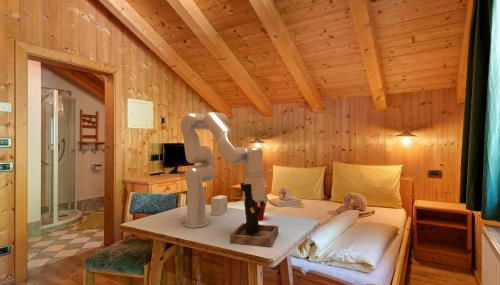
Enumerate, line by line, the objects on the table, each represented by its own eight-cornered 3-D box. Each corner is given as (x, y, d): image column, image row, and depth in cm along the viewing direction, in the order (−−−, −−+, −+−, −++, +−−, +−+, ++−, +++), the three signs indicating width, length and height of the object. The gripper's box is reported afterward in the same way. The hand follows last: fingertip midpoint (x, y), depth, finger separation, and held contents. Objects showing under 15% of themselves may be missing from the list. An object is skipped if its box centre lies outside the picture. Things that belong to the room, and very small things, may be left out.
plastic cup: (266, 222, 143) (266, 200, 143) (247, 221, 145) (247, 200, 145) (269, 217, 154) (268, 196, 154) (251, 216, 156) (251, 196, 156)
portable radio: (260, 233, 117) (255, 178, 116) (247, 235, 116) (241, 180, 115) (257, 228, 124) (252, 176, 124) (245, 230, 123) (239, 177, 123)
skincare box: (220, 216, 158) (220, 198, 158) (210, 215, 160) (210, 198, 160) (227, 211, 167) (227, 195, 168) (218, 211, 170) (218, 194, 170)
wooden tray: (230, 243, 113) (230, 235, 113) (242, 230, 130) (242, 223, 130) (271, 247, 108) (270, 238, 108) (278, 233, 125) (278, 225, 125)
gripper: (235, 175, 118) (235, 215, 118) (270, 176, 114) (270, 218, 113) (240, 173, 125) (240, 211, 125) (273, 174, 121) (273, 214, 121)
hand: (255, 214), depth 119 cm, fingers closed on portable radio, 2 cm apart
